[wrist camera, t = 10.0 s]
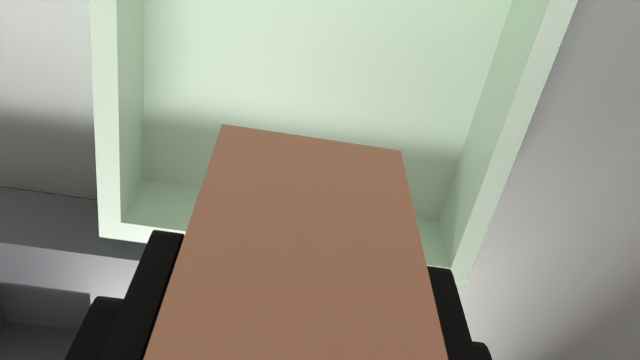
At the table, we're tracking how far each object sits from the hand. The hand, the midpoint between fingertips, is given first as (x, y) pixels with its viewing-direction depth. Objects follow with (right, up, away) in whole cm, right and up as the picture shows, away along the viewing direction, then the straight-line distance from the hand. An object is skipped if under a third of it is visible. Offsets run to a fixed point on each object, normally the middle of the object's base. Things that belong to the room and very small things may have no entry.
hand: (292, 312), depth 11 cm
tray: (0, +6, +11) cm, 12 cm away
